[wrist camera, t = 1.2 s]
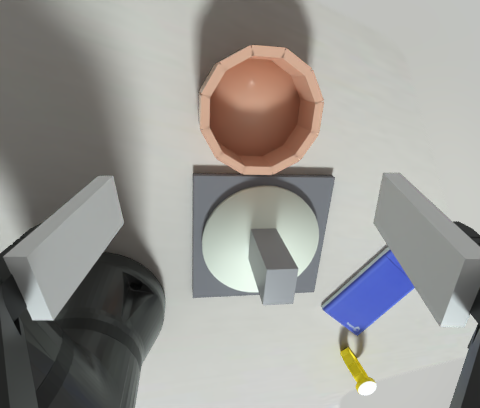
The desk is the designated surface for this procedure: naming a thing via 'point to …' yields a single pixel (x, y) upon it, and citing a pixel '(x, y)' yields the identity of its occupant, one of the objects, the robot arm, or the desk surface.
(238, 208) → the lid
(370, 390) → the yellow curved ring
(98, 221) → the robot arm
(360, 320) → the hard drive
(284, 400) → the desk surface
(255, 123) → the bowl
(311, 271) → the mat
